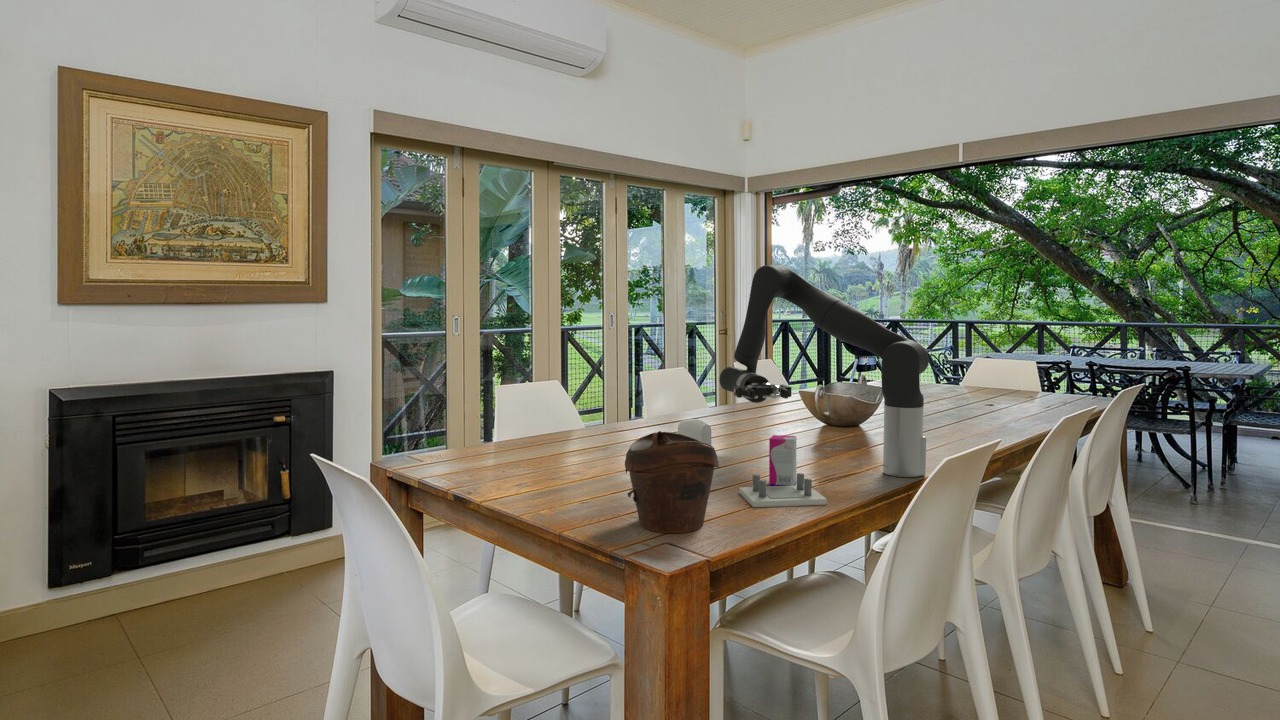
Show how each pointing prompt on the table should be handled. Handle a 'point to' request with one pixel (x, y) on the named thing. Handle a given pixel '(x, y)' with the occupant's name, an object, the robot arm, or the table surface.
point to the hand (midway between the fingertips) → (770, 394)
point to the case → (670, 481)
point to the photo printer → (695, 430)
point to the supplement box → (782, 460)
